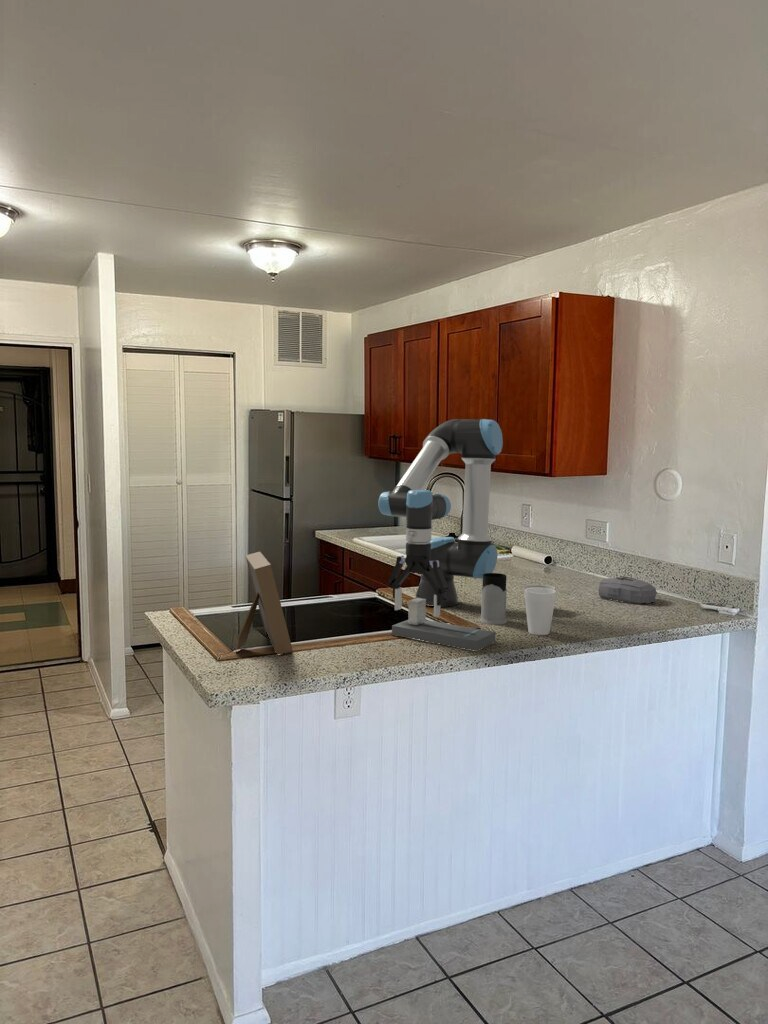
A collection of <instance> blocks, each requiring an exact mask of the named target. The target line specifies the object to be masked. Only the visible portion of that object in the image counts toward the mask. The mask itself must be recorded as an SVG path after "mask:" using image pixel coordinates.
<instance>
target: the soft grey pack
mask: <svg viewBox="0 0 768 1024" xmlns="http://www.w3.org/2000/svg"><path fill="white" fill-rule="evenodd" d="M657 594H658V592H657V589H656V587H655V586H654V585H652V583H649V582H647V581H644V580H642V579H638V578H635V577H634V578H633V577H630V576H629V577H628V576H622V575H620V576H617V577H609V578H605V579H602V580H601V581H600V583H599V586H598V595H599V597H600V598H602V599H605V598H607V599H606V600H608V599H612V600H611V601H613V600H618V601H623V602H622V603H625V602H630V603H629V604H642V603H646V604H651V602H653V601H654V602H655V599H656V597H657ZM618 601H617V602H618ZM654 602H653V603H654Z"/></svg>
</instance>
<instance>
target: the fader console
mask: <svg viewBox="0 0 768 1024" xmlns="http://www.w3.org/2000/svg"><path fill="white" fill-rule="evenodd" d="M496 632H497V631H491V630H487V629H480V628H475V627H469V626H463V625H462V626H461V625H457V624H451V623H446V622H440V621H435V620H428V619H426V622H424V623H421V624H419V625H413V624H408V619H406V620H404V621H401V622H398V623H396V624H393V625H391V635H392V634H393V635H397V636H403V637H410V638H415V639H420V640H424V641H429V642H434V643H440V644H444V645H450V646H455V647H459V648H458V649H460V648H465V649H471V650H479V649H481V648H483V647H485V646H487V645H489V646H491V645H492V643H493V642H494V643H496ZM397 636H396V637H397ZM434 643H433V644H434ZM494 643H493V644H494ZM490 644H491V645H490ZM444 645H443V646H444ZM455 647H454V648H455ZM487 647H488V646H487ZM485 648H486V647H485ZM465 649H464V650H465ZM483 649H484V648H483ZM481 650H482V649H481ZM479 651H480V650H479Z"/></svg>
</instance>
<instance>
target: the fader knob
mask: <svg viewBox="0 0 768 1024" xmlns="http://www.w3.org/2000/svg"><path fill="white" fill-rule="evenodd" d="M426 608H427V606H426V599H422V598H413V599H409V600H408V614H407V615H408V616H407V617H408V619H407V620H408V624H413V625H419V624H421V623H424V622H426V620H427V619H426V616H427V615H426V612H427V611H426V610H427V609H426Z"/></svg>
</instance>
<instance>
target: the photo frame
mask: <svg viewBox="0 0 768 1024" xmlns="http://www.w3.org/2000/svg"><path fill="white" fill-rule="evenodd" d="M244 557H245V559H246V564H247V567H248V571H249V576H250V578H251V582H252V586H253V590H254V594H255V597H254V599H253V601H252V604H251V605H250V608H249V611H248V613H247V615H246V617H245V619H244V622H243V623H242V626H241V628H240V631H239V633H238V635H237V638H236V647H235V650H236V649H238V648H240V647H242V646H244V645H245V646H246V643H247V642H248V641H247V640H248V637H249V633H250V631H251V626H252V624H253V620H254V617H255V614H256V611H257V608H258V610H259V613H260V616H261V620H262V624H263V629H264V632H265V633H266V632H267V634H268V637H269V639H270V641H271V643H272V645H273V647H274V649H275V651H276V652H275V651H274V652H275V654H276V653H277V654H279V653H285V654H289V653H291V652H293V651H294V650H293V646H292V642H291V639H290V635H289V629H288V626H287V622H286V619H285V618H286V617H285V615H284V611H283V608H282V603H281V600H280V596H279V591H278V588H277V584H276V580H275V577H274V572H273V568H272V563H270V562H269V561H268V559H267V558H266V557H265V556H264V554H263V553H262V552H261V551H257V552H256V551H255V552H254V553H249V554H246V555H244ZM268 637H267V638H268ZM269 639H268V640H269ZM270 641H269V642H270ZM271 643H270V644H271ZM272 645H271V646H272ZM273 647H272V648H273ZM274 649H273V650H274ZM277 654H276V655H277Z"/></svg>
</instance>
